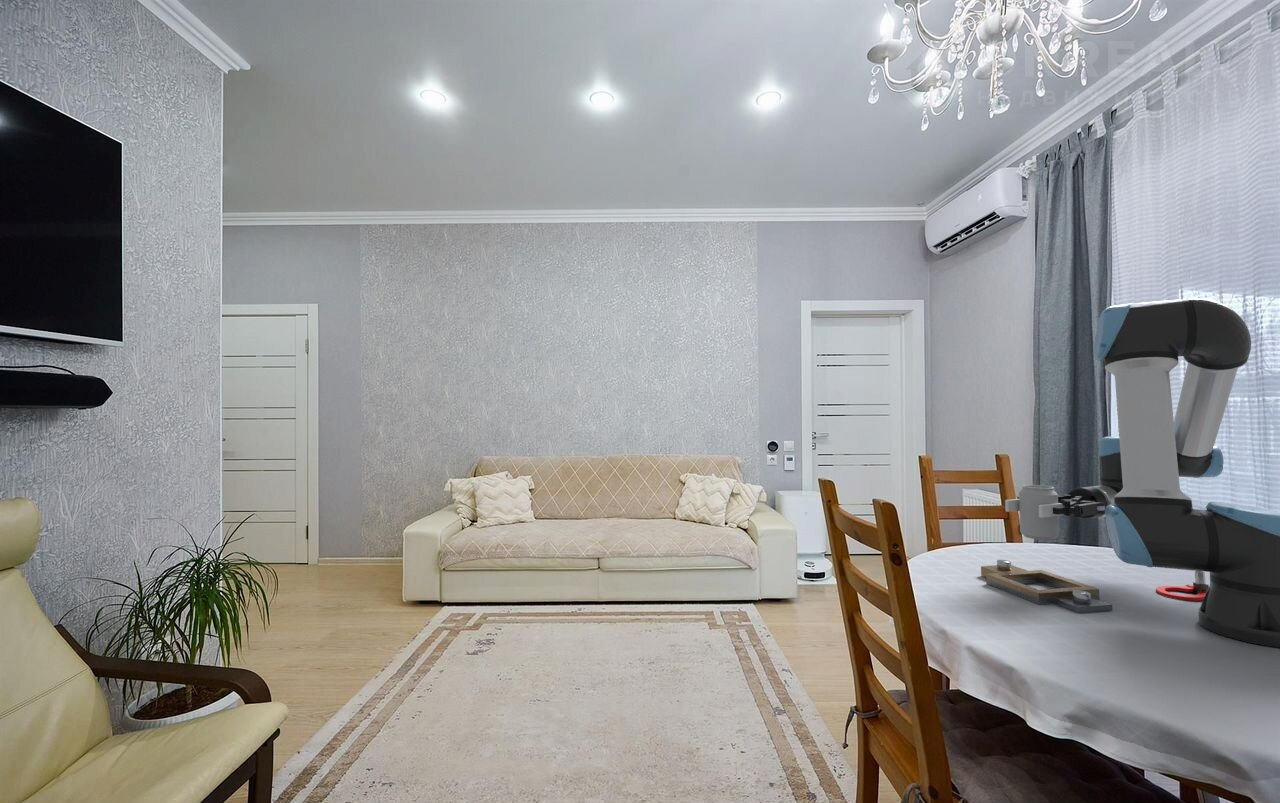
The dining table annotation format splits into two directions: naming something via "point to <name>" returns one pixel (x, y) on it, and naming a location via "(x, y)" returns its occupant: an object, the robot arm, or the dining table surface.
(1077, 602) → the chain end lower
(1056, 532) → the can
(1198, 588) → the tow hook
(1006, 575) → the chain end upper
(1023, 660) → the dining table surface
